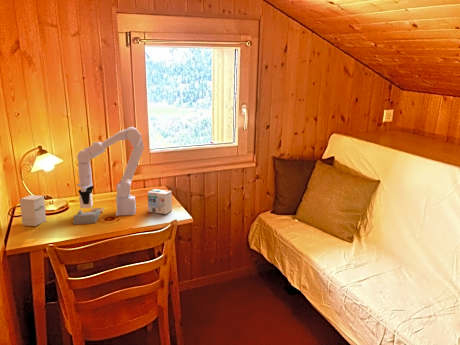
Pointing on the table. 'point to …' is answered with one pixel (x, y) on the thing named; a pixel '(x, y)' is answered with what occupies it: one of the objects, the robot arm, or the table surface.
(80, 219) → the tray
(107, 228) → the table surface
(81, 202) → the block
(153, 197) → the light bulb box
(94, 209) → the stand
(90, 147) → the robot arm
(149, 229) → the table surface
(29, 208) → the supplement box
